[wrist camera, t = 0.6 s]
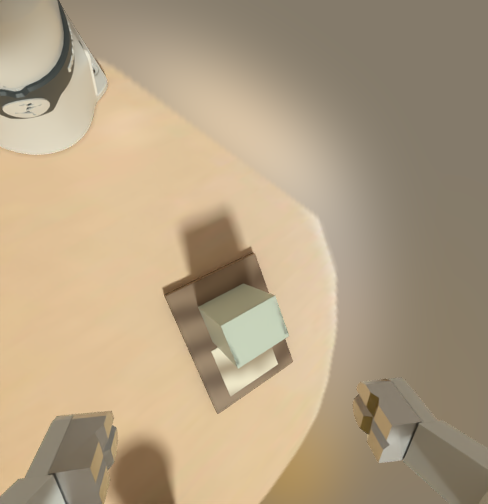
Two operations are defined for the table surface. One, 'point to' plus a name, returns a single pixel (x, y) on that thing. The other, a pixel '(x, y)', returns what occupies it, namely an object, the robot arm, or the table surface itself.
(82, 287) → the table surface
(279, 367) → the walnut board
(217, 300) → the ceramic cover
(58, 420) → the robot arm
